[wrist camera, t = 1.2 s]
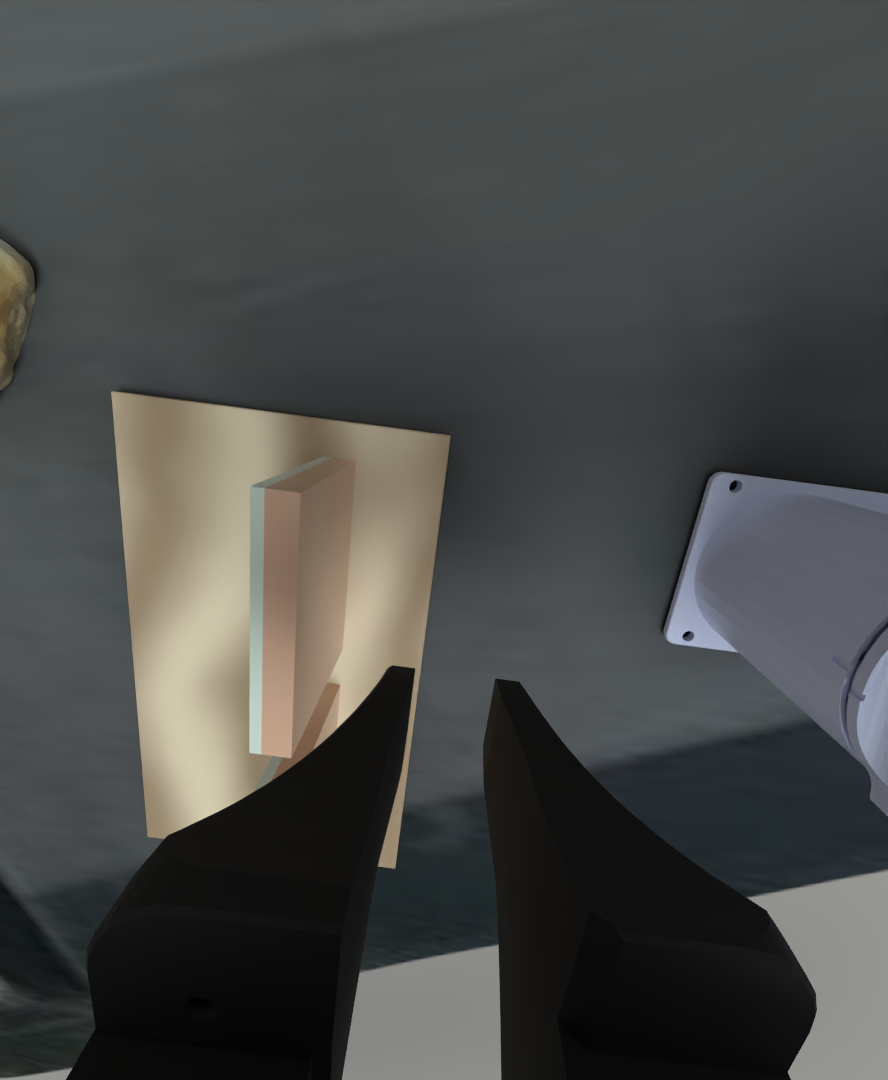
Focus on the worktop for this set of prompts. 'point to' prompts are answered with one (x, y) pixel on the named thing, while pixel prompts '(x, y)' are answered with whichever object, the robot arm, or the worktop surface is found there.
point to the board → (224, 582)
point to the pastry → (13, 307)
